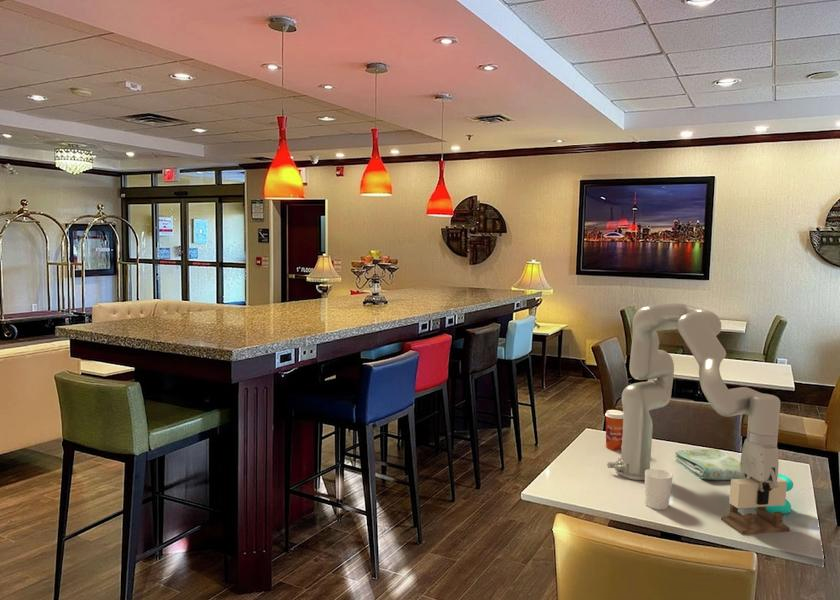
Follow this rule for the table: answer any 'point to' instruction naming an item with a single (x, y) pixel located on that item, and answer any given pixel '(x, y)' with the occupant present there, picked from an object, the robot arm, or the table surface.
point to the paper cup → (614, 429)
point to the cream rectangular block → (755, 493)
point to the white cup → (657, 488)
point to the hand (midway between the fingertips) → (757, 500)
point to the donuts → (787, 506)
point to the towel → (710, 464)
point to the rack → (755, 521)
